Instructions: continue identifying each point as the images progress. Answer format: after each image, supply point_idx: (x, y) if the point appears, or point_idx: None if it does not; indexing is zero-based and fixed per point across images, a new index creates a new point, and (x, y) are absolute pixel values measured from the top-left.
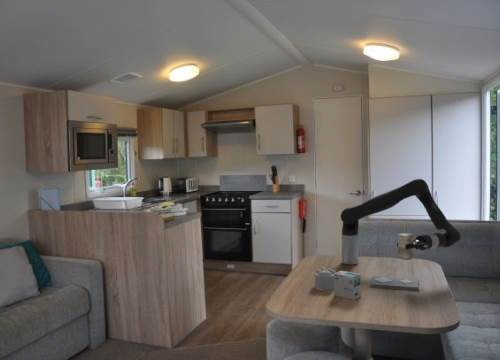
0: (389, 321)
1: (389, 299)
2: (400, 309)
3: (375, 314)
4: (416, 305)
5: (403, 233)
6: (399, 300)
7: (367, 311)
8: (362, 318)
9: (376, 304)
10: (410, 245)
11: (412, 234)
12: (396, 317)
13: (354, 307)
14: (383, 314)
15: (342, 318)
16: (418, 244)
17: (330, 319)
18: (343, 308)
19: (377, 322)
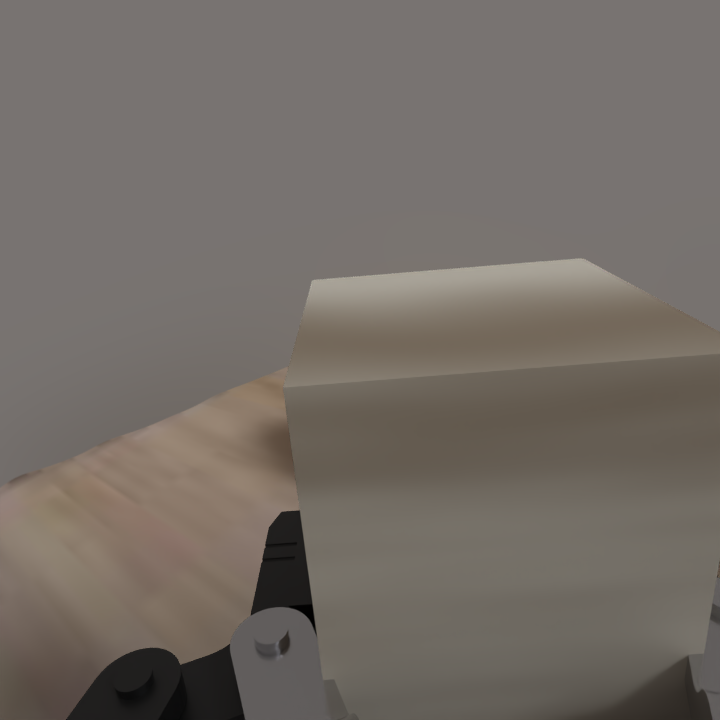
0: (61, 479)
1: (227, 606)
2: (81, 570)
3: (149, 474)
4: (16, 680)
5: (645, 307)
6: (165, 646)
7: (195, 467)
8: (164, 436)
9: (225, 521)
10: (264, 557)
11: (326, 382)
12: (53, 512)
13: (266, 452)
14: (121, 492)
15: (216, 405)
16: (84, 702)
17: (236, 387)
18: (285, 428)
19: (97, 452)
